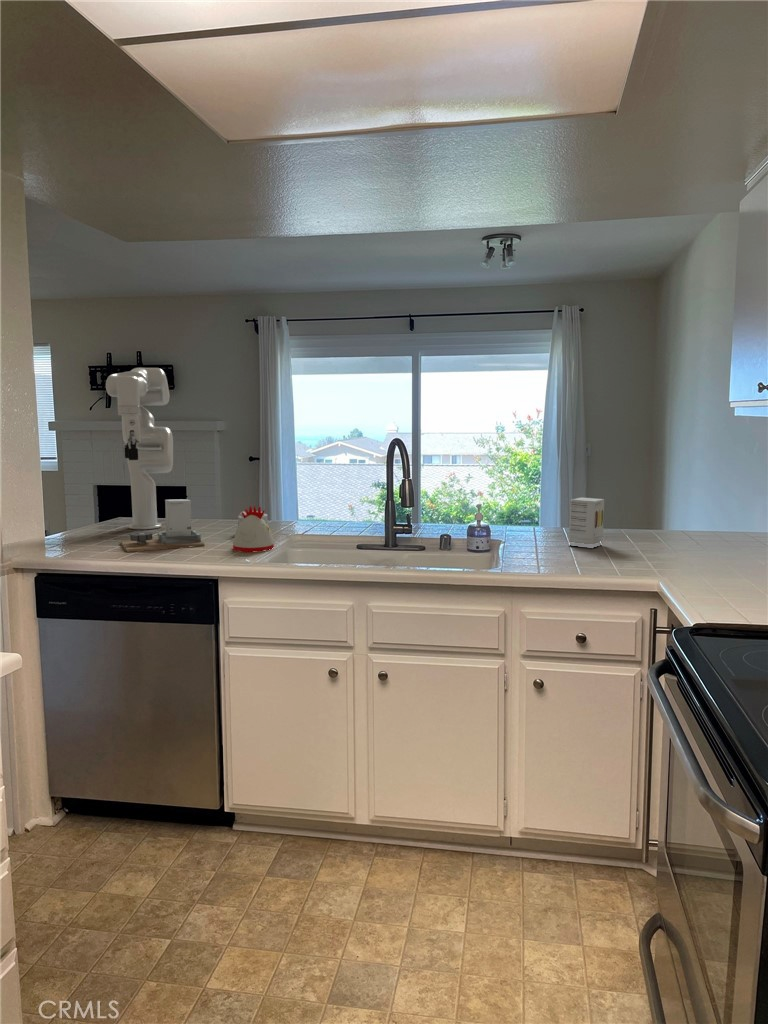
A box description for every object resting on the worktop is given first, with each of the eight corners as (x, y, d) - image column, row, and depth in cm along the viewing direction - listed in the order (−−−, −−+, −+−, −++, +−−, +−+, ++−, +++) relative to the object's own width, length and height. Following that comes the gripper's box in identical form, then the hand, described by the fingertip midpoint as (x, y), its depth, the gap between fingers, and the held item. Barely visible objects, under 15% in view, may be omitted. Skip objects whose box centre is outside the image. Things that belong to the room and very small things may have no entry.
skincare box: (168, 542, 254) (167, 501, 252) (165, 540, 259) (163, 499, 257) (192, 540, 258) (191, 499, 255) (189, 538, 263) (187, 498, 261)
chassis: (120, 543, 258) (120, 531, 257) (194, 537, 269) (193, 526, 269) (126, 552, 242) (126, 539, 241) (204, 546, 253) (204, 533, 253)
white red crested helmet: (265, 553, 241) (264, 509, 239) (226, 551, 244) (225, 508, 242) (279, 545, 255) (278, 503, 253) (242, 544, 257) (241, 502, 255)
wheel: (129, 538, 254) (129, 532, 253) (150, 536, 257) (150, 531, 257) (131, 541, 247) (131, 536, 247) (153, 540, 251) (153, 534, 250)
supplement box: (592, 549, 248) (595, 501, 246) (567, 546, 254) (569, 499, 251) (602, 545, 256) (605, 498, 253) (578, 542, 261) (580, 496, 259)
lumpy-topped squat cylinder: (270, 531, 283) (270, 510, 282) (257, 537, 271) (257, 514, 270) (246, 530, 286) (245, 509, 284) (232, 536, 273) (231, 513, 272)
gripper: (143, 411, 250) (146, 460, 253) (136, 410, 265) (138, 457, 268) (121, 411, 247) (123, 461, 249) (115, 410, 262) (117, 457, 264)
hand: (131, 459), depth 258 cm, fingers open, 9 cm apart
